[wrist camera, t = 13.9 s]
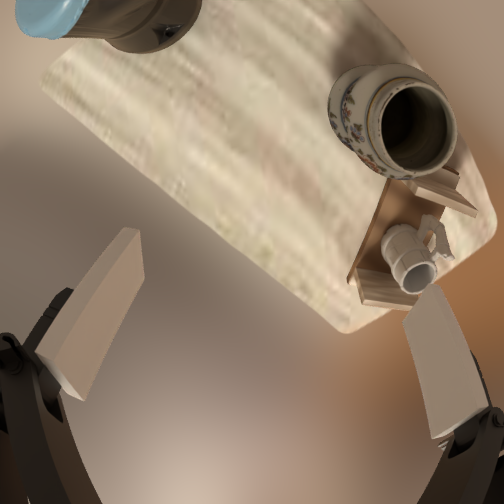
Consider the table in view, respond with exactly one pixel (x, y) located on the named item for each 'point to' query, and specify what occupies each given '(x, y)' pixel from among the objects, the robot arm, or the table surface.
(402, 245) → the mug
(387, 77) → the apothecary jar
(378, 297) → the shelf
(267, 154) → the table surface
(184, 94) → the table surface
